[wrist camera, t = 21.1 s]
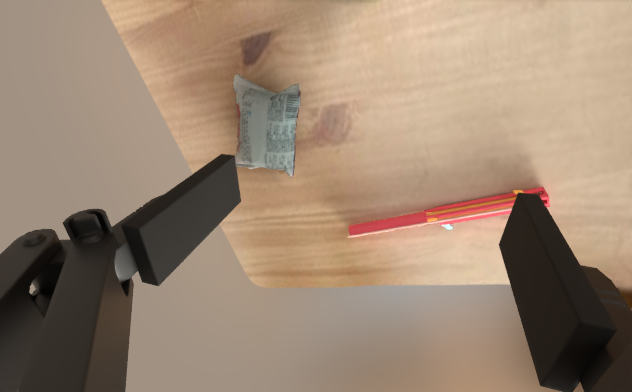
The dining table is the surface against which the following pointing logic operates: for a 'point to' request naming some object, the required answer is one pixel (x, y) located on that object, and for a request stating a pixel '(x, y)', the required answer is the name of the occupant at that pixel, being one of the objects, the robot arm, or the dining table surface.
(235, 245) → the dining table surface
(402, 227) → the red folding fan
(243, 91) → the packaged food
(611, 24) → the dining table surface
